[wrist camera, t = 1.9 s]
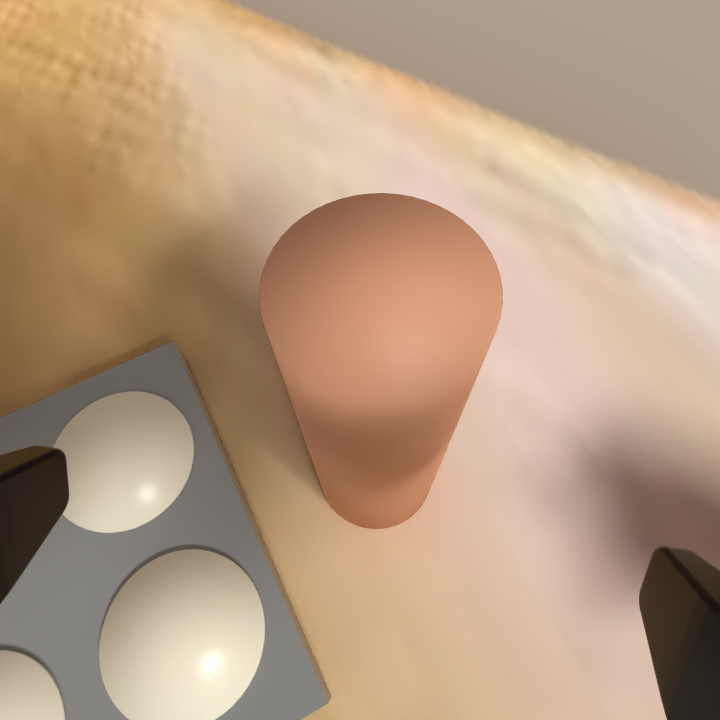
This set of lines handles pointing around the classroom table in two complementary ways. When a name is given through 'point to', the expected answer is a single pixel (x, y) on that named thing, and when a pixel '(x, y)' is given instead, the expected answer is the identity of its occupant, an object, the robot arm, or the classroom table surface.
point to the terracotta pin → (379, 343)
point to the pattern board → (148, 567)
